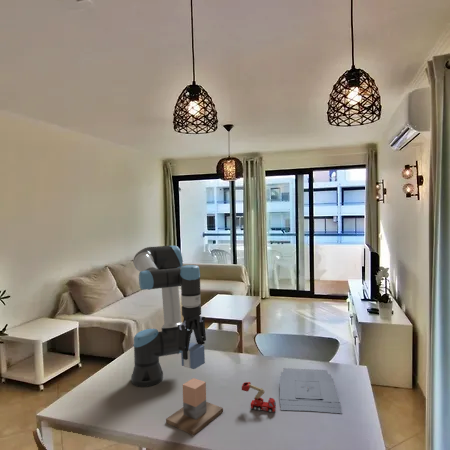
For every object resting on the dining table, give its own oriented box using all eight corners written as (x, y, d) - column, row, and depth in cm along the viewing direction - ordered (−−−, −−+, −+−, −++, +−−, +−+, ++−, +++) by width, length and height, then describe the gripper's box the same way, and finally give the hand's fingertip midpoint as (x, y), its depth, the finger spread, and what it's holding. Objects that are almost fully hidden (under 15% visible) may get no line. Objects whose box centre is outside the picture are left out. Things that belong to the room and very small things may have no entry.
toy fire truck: (275, 413, 139) (274, 389, 138) (241, 407, 143) (241, 384, 143) (276, 408, 142) (276, 385, 141) (244, 403, 146) (243, 381, 146)
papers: (331, 375, 167) (331, 368, 166) (342, 419, 137) (342, 411, 137) (279, 373, 170) (279, 366, 170) (280, 416, 141) (280, 407, 140)
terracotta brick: (183, 402, 137) (182, 384, 136) (193, 394, 142) (193, 378, 142) (195, 407, 133) (195, 389, 133) (206, 399, 138) (205, 382, 138)
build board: (166, 422, 134) (165, 406, 134) (196, 401, 149) (196, 386, 149) (193, 435, 126) (193, 418, 126) (223, 411, 141) (222, 395, 141)
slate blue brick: (181, 365, 136) (181, 347, 136) (192, 359, 142) (191, 342, 141) (194, 369, 133) (193, 351, 132) (204, 363, 138) (204, 345, 138)
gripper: (181, 312, 126) (183, 375, 127) (214, 301, 142) (215, 357, 143) (166, 309, 131) (168, 370, 131) (199, 298, 146) (201, 353, 147)
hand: (193, 363), depth 137 cm, fingers closed on slate blue brick, 6 cm apart
